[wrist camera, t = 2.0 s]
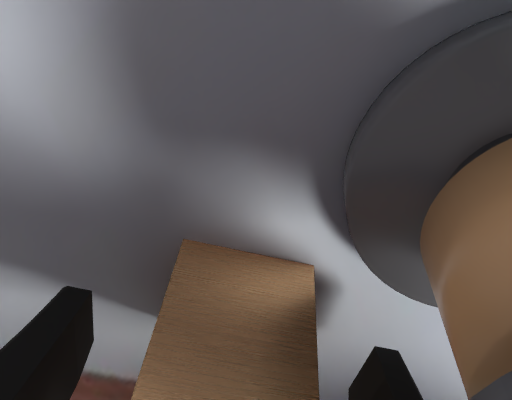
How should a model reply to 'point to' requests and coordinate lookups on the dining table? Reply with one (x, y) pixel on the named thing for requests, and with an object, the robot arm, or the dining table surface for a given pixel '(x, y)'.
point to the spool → (445, 195)
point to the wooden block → (233, 329)
